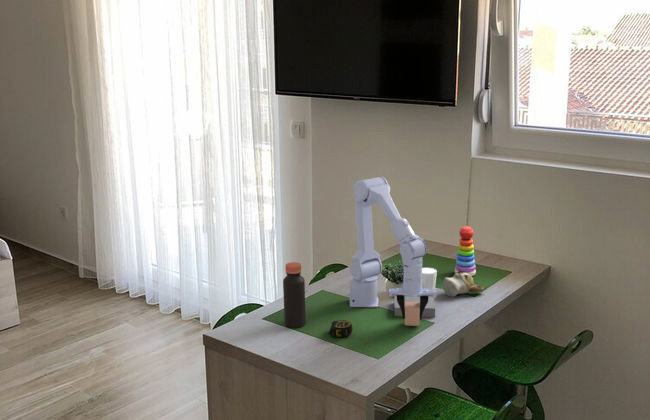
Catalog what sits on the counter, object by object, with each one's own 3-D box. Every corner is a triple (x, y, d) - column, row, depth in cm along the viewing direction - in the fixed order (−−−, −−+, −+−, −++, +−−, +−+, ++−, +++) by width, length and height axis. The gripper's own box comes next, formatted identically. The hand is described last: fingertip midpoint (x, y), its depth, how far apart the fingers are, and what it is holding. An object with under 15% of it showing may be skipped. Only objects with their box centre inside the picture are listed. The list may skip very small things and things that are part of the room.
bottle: (280, 324, 221) (277, 264, 216) (296, 317, 226) (294, 259, 220) (294, 330, 216) (292, 270, 211) (310, 323, 221) (308, 264, 216)
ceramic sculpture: (435, 268, 242) (469, 263, 249) (433, 292, 244) (467, 286, 251) (455, 278, 233) (489, 272, 240) (452, 302, 235) (486, 296, 242)
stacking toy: (450, 271, 264) (451, 224, 259) (469, 269, 266) (471, 222, 261) (460, 278, 257) (462, 230, 252) (479, 275, 259) (481, 227, 254)
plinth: (394, 316, 225) (394, 307, 224) (394, 303, 236) (394, 294, 235) (434, 317, 224) (435, 308, 223) (433, 303, 234) (433, 295, 234)
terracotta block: (404, 325, 216) (405, 307, 215) (404, 319, 221) (404, 301, 219) (419, 325, 216) (419, 307, 214) (418, 319, 220) (419, 302, 218)
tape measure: (332, 329, 217) (331, 318, 216) (353, 330, 216) (353, 319, 215) (328, 339, 210) (328, 327, 209) (350, 340, 209) (350, 328, 208)
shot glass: (436, 293, 244) (436, 274, 242) (416, 291, 245) (416, 273, 243) (437, 285, 250) (437, 267, 248) (417, 284, 251) (418, 266, 250)
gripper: (389, 281, 211) (388, 322, 215) (437, 282, 210) (436, 323, 213) (389, 273, 218) (388, 313, 221) (435, 273, 216) (434, 314, 220)
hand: (412, 317), depth 218 cm, fingers closed on terracotta block, 4 cm apart
